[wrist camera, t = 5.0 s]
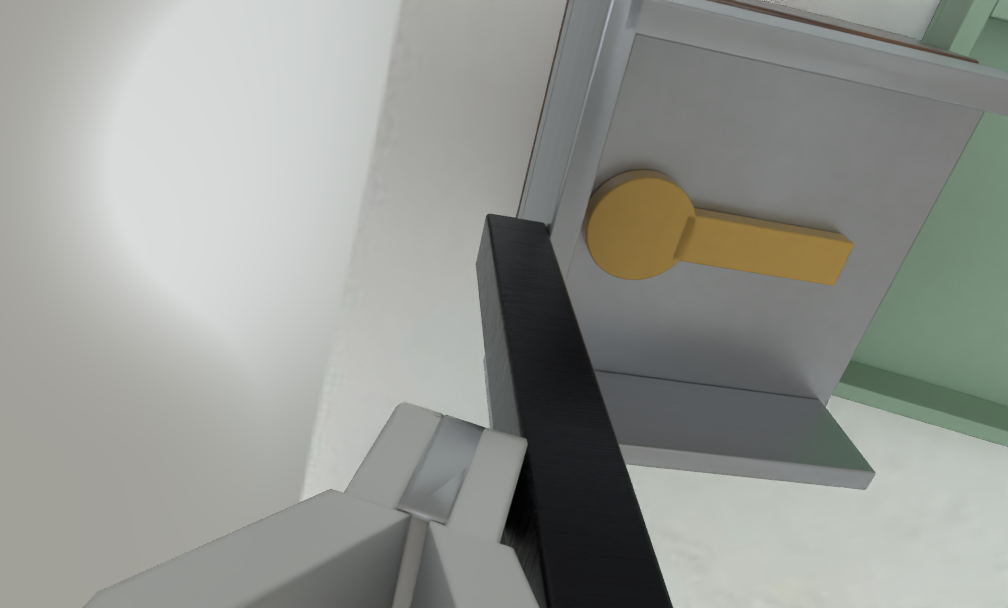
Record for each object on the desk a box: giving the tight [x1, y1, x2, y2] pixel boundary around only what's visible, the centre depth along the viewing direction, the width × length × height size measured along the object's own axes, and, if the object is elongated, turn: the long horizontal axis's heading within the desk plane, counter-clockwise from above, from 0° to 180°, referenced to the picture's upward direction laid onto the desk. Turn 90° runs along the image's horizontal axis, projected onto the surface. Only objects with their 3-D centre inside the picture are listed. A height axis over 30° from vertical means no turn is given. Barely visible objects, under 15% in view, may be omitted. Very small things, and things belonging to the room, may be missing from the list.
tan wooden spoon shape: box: [582, 170, 854, 286], centre depth 17 cm, size 7×3×1 cm, turn 78°
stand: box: [516, 0, 979, 218], centre depth 22 cm, size 10×10×6 cm
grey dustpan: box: [476, 0, 1008, 608], centre depth 12 cm, size 11×10×12 cm
